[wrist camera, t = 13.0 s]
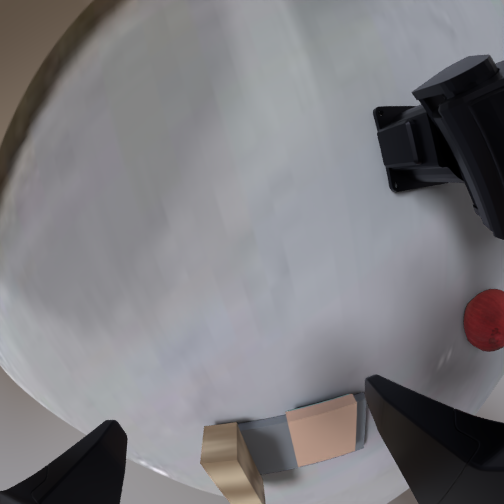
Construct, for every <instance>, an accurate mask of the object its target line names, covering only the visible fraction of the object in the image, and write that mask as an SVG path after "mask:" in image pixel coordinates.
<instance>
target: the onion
mask: <svg viewBox="0 0 504 504" xmlns="http://www.w3.org/2000/svg"><path fill="white" fill-rule="evenodd" d="M464 329H465V333H466V336H467V339H468V341H469V342H470V343H471V344H472V345H473V346H475V347H477V348H479V349H481V350H482V351H487V352H490V351H495V350H498V349H500V348H502V347H504V292H503V291H501V290H498V289H489V290H485V291H483V292H481V293H479V294H478V295H477V296H476V297H475V298H473V299H472V300H471V301H470V302H469V303H468V304H467V306H466V310H465V314H464Z"/></svg>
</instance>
